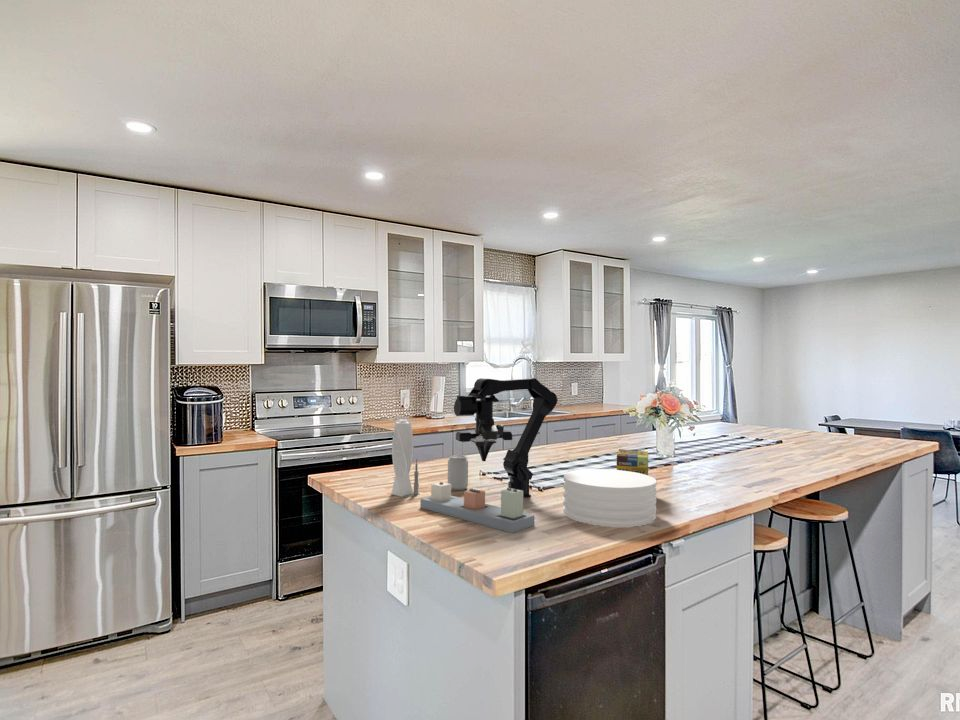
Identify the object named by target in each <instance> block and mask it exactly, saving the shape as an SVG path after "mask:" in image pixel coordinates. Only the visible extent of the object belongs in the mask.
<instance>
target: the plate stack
mask: <svg viewBox="0 0 960 720" xmlns="http://www.w3.org/2000/svg"><path fill="white" fill-rule="evenodd" d="M563 481H564V482H563V494H562V495H563V500H562V501H563V502H562V503H563V508H562V513H563V515H565V517H567V518H568V519H571V520H573V521H574V522H575V521H576V522H578V521H579V523H582V522H583V523H582V524H586V523H588V524H587V525H591V524H593V525H592V526H597V525H600V526H599V527H604V526H611V527H610V528H633V527H632V526H639V527H642V526H641V525H645V526H647V525H646V524H649V523H651V522H653V521H654V520H655V519H656V520H657V513H656V512H657V497H656V495H657V488H656V487H657V485H658V484H657V483H658V482H657V480H656V478H654V476H653V477H652V476H651V475H649V474H648V475H645V474H641V473H636V472H630V471H622V470H616V469H611V468H610V469H607V468H586V469H578V470H577V469H576V470H571V471H568V472H566V473H564V474H563ZM653 523H654V522H653ZM651 524H652V523H651ZM649 525H650V524H649Z"/></svg>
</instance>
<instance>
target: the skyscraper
mask: <svg viewBox="0 0 960 720" xmlns="http://www.w3.org/2000/svg"><path fill="white" fill-rule="evenodd" d="M396 418H397V419H396ZM398 418H400V419H398ZM393 420H394V421H393V422H395V424H394V429H393V434H392V444H391V458H392V465H393V472H394V474H395V475H394V479H393V484H392V485H393V486H392V491H391V496H396V497H400V498H404V499H407V498H410V497H411V498H412V497H414V496H418V495H420V493H419V486H420V484H419V470H418V466H419V464H418V459H417V458H416V459H415V464H414V465H415V466H414V467H415V470H414V472H413V473H414V474H413V475H414V483H413V487H412V483H411V482H412V481H411V478H410V472H411V468H412V463H413V459H414V457H413V456H414V445H415V444H414V435H413V434H414V433H413V427H412V423H411V421H412V420H410V419H409V418H407V417H405V416H402V415H401V416H400V415H395V416H393Z"/></svg>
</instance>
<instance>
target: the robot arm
mask: <svg viewBox="0 0 960 720" xmlns="http://www.w3.org/2000/svg"><path fill="white" fill-rule="evenodd" d="M521 390H527V392H528V393H529V395H530V397H532V398H533V402H532V413H531V414H530V417H529V418H528V421H527V423H526V425H525V427H524V429H523V432H522V433H521V436H520V438H519V440H518V442H517V445H516V446H515V448H514V449H507V452H506V453H505V456H504V457H503V463H502V464H503V465H502V466H503V469H504V471H505V472H506V473H507V476H508V477H509V481H508V484H507V485H508V486H507V488H513V489H517V490H522V491H523V498H530V497H531V498H532V494H530V481H531V480H532V479H533V476H534V473H533V472H532V471H531V470H530V469H529V468H528V465H529V453H530V450H531V448H532V446H533V444H534V442H535V440H536V437H537V436H538V433H539V431H540V429H541V427H542V425H543V422H544V421H545V418H546V417H547V416H548V415H549V414H550V413H552V411H553V410H554V408H555V407H556V406H557V404H558V401H559V400H558V396H557V395H556V393H555V392H553V391H551V390H550V389H549V388H548V387H547V386H545V385H544V384H543V383H541V382H540V381H539V379H537V378H534V377H526V378H517V379H515V378H514V379H503V380H502V379H493V378H484V377H483V378H482V377H481V378H477V379H476V380H475V382H474V384H473V387H472V389H471V391H469V394H468V395H457V396H456V400H455V402H454V404H453V411H454V415H455V416H456V417H469V416H471V417H472V416H474V415H475V417H474V421H475V429H474V433H472V432H470V431H467V430H465V431H463V430H462V431H457V432H456V433H455V440H456V441H458V442H461V443H462V442H464V443H465V442H470V441H471V442H472V443H474V444H475V446H476V448H477V451H478V453H479V456H480V458H481V461H482V462H486V460H487V458H488V456H489V452H490V449H492V448H491V447H492V446H493V445H494V444H497V441H496V440H498V439H502V440H503V441H512V440H513V433H512V432H511V431H510V430H507V429H504V424H502V423H501V424H500V423H499V424H498V423H497V424H495V418H494V417H493V415H494V403H498V402H500V401H499V399H498V398H497V397H496V395H497V394H500V393H502V392H509V391H510V392H511V391H521Z"/></svg>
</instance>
